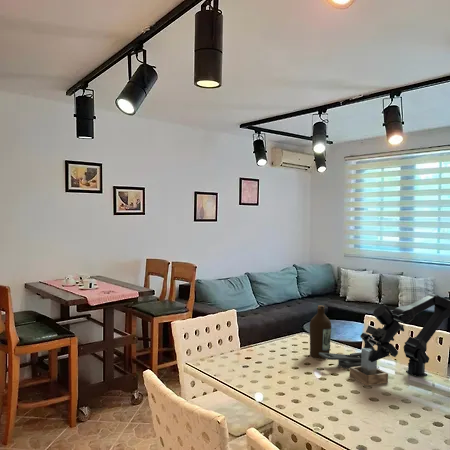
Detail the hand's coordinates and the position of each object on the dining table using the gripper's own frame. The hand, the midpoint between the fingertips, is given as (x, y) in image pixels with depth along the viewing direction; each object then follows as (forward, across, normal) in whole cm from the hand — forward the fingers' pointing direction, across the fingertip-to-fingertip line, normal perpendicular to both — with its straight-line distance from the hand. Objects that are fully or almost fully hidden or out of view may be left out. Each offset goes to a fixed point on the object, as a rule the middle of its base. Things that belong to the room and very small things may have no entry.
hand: (366, 359), depth 180 cm
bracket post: (+5, 0, +6) cm, 8 cm away
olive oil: (+8, -32, +4) cm, 34 cm away
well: (+5, 0, +7) cm, 9 cm away
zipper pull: (+6, -16, +7) cm, 19 cm away
